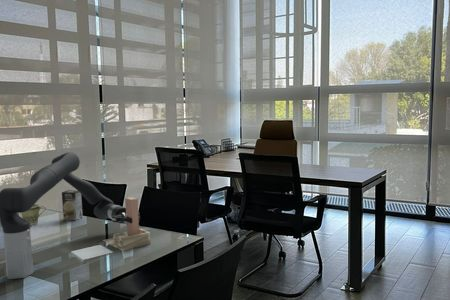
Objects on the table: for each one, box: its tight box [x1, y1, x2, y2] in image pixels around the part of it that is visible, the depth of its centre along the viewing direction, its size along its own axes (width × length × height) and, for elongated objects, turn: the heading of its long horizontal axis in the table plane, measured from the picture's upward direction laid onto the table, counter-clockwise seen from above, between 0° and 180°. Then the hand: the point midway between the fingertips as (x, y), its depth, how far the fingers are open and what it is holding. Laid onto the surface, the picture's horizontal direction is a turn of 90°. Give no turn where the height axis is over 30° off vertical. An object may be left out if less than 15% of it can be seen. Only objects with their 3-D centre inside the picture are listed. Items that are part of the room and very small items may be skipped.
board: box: [124, 196, 140, 236], centre depth 194 cm, size 6×3×20 cm, turn 39°
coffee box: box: [61, 189, 83, 221], centre depth 248 cm, size 9×6×16 cm
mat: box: [70, 244, 113, 264], centre depth 183 cm, size 14×13×2 cm
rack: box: [102, 227, 151, 251], centre depth 196 cm, size 20×14×6 cm
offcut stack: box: [112, 232, 128, 248], centre depth 191 cm, size 8×4×4 cm, turn 39°
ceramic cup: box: [20, 203, 46, 226], centre depth 240 cm, size 13×10×10 cm
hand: (135, 220), depth 192 cm, fingers closed on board, 3 cm apart
